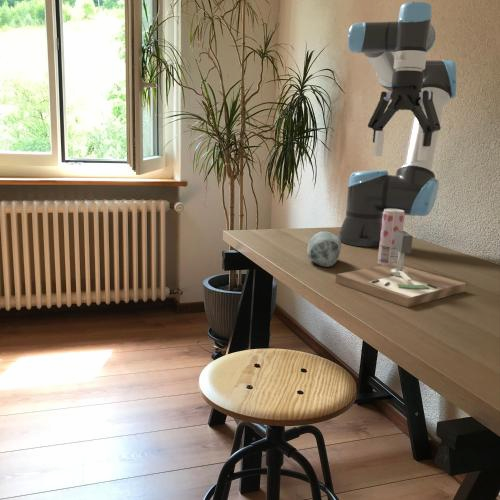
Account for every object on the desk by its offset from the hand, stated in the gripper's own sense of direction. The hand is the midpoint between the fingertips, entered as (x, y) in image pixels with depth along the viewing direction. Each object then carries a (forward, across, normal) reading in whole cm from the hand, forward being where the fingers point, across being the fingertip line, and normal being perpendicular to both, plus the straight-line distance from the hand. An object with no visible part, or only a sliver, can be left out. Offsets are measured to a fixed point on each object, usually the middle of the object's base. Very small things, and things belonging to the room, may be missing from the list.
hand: (398, 158), depth 134 cm
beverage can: (+29, -1, +2) cm, 29 cm away
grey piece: (+27, +14, -12) cm, 32 cm away
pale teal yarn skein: (+29, -11, -13) cm, 34 cm away
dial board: (+29, +14, -13) cm, 34 cm away
